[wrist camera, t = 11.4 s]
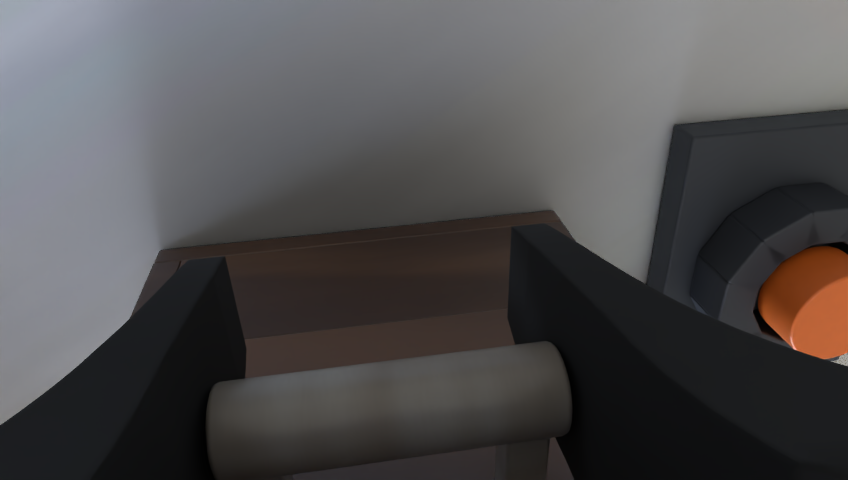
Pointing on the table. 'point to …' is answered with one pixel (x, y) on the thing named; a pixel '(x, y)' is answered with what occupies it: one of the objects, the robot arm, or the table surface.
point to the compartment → (362, 274)
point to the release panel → (748, 209)
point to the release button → (809, 301)
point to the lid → (394, 405)
